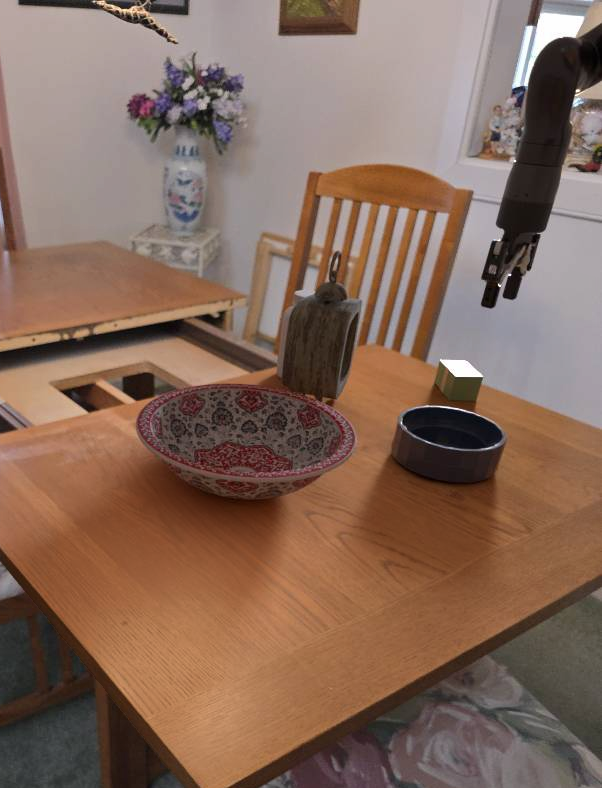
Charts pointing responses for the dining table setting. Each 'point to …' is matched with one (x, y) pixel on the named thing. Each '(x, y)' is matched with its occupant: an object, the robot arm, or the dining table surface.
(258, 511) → the dining table surface
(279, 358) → the pill bottle
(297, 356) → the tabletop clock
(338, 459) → the ceramic bowl
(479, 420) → the bowl
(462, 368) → the block
